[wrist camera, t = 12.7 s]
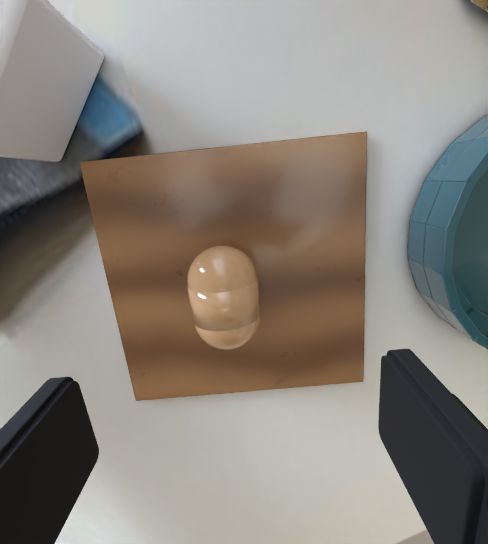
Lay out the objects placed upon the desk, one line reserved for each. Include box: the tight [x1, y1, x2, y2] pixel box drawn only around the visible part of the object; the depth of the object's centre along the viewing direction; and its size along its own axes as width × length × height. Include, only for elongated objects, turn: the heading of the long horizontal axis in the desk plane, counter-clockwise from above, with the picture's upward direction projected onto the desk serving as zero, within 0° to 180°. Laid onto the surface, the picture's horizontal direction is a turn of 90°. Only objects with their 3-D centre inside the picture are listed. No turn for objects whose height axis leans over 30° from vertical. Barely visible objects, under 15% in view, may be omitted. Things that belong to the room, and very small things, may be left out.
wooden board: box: [80, 132, 367, 401], centre depth 22 cm, size 18×18×1 cm
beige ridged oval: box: [187, 245, 261, 350], centre depth 20 cm, size 7×4×4 cm, turn 6°
